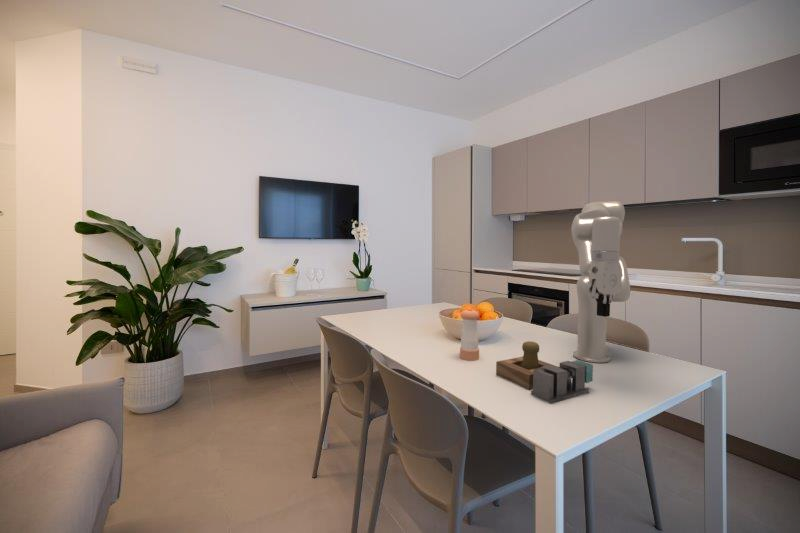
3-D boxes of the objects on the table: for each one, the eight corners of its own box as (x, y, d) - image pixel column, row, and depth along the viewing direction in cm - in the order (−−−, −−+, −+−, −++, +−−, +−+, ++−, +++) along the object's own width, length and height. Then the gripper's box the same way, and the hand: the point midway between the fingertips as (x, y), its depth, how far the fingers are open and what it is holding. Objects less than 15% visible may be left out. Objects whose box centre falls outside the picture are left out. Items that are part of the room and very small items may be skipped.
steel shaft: (577, 375, 111) (577, 360, 111) (592, 381, 106) (592, 364, 106) (538, 385, 103) (539, 368, 103) (553, 392, 99) (553, 374, 98)
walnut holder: (526, 368, 125) (526, 355, 125) (560, 381, 113) (561, 367, 112) (496, 374, 119) (496, 361, 118) (529, 389, 106) (529, 375, 106)
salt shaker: (483, 358, 136) (483, 308, 135) (469, 361, 132) (470, 310, 131) (469, 353, 142) (469, 306, 141) (455, 356, 138) (456, 307, 137)
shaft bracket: (567, 384, 111) (568, 359, 110) (588, 392, 104) (589, 366, 104) (530, 394, 103) (531, 367, 103) (551, 403, 97) (551, 375, 96)
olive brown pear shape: (541, 379, 112) (542, 345, 111) (521, 378, 113) (522, 344, 112) (538, 373, 117) (539, 340, 117) (519, 371, 119) (519, 339, 118)
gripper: (601, 257, 104) (599, 320, 105) (631, 257, 110) (629, 315, 111) (578, 257, 110) (576, 316, 111) (608, 256, 117) (606, 311, 118)
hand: (603, 315), depth 111 cm, fingers closed
